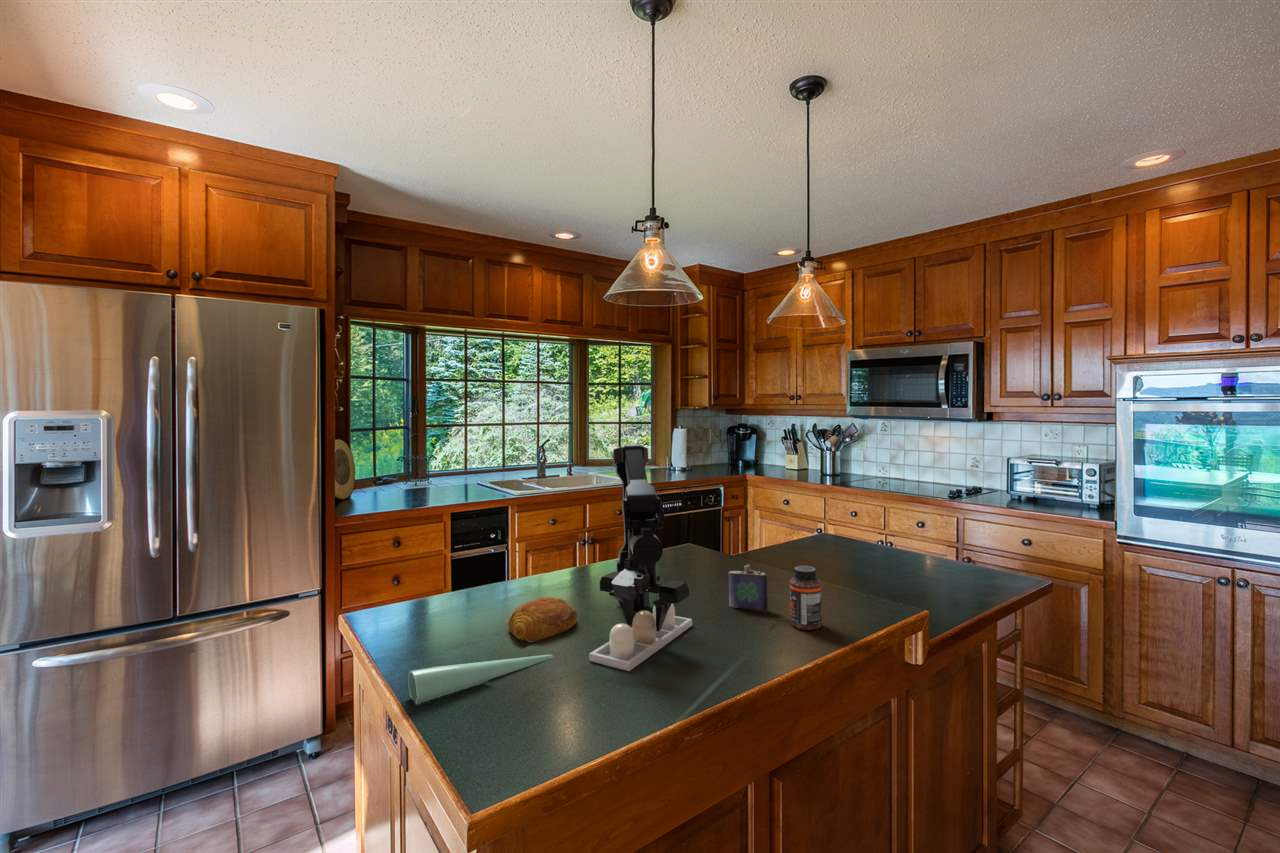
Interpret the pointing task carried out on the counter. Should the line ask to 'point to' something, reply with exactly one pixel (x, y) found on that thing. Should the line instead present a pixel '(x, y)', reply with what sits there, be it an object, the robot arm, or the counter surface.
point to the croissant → (542, 619)
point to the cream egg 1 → (621, 642)
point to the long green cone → (462, 676)
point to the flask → (748, 589)
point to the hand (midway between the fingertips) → (644, 627)
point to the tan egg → (644, 627)
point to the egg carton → (640, 647)
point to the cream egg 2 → (667, 618)
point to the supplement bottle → (805, 599)
